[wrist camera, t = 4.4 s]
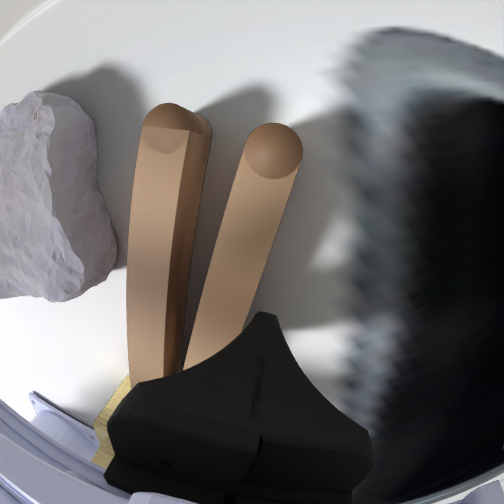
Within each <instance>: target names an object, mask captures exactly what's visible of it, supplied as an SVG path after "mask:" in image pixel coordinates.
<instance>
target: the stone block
mask: <svg viewBox="0 0 504 504" xmlns="http://www.w3.org/2000/svg"><path fill="white" fill-rule="evenodd" d="M97 156H98V150H97V141H96V129H95V125H94V121H93V120H92V119H91V118H90V117H89V116H88V115H87V113H86V112H85V111H84V109H83V108H82V107H81V106H80V105H79V104H78V103H77V102H76V101H74V100H73V99H71V98H69V97H68V96H62V95H59V94H56V93H50V92H41V91H33V92H30V93H28V94H27V95H26V97H25V98H24V99H23V100H22V101H21V102H19V103H16V104H9V105H7V106H6V107H4V108H3V109H2V110H1V113H0V299H5V298H12V297H18V296H33V297H44V298H45V299H47V300H48V301H50V302H65V301H68V300H71V299H73V298H76V297H78V296H80V295H82V294H83V293H84V292H85V291H87V290H88V289H89V288H91V287H93V286H96V285H98V284H99V283H101V282H103V281H105V280H106V279H107V277H108V275H109V273H110V272H111V270H112V268H113V267H114V266H115V264H116V257H117V253H118V250H117V243H116V239H115V235H114V230H113V228H112V226H111V218H110V216H109V214H108V212H107V209H106V205H105V202H104V199H103V196H102V194H101V192H100V191H99V187H98V182H97Z"/></svg>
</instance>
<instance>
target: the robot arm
mask: <svg viewBox="0 0 504 504" xmlns="http://www.w3.org/2000/svg"><path fill="white" fill-rule="evenodd" d="M28 397H29V399H30V401H31V403H32V405H33V408H34V410H35V412H36V414H37V415H36V416H35V417H34V418H33V420H32V421H31V422H28V421H27V420H26V419H24V418H23V417H22V416H20V415H19V414H18V413H17V412H15V411H14V410H13V409H12V408H11V407H9V406H8V405H7V404H6V403H5V402H3V401H2V400H1V399H0V504H350V503H351V502H352V490H353V489H354V488H355V487H356V486H358V485H359V484H360V483H361V482H362V481H363V480H364V479H365V478H366V477H367V476H368V475H369V474H370V473H371V472H372V470H373V469H374V466H375V458H374V452H373V447H372V443H371V440H370V437H369V434H368V431H367V430H366V429H364V428H363V427H361V426H360V425H358V424H357V423H356V422H354V421H353V420H351V419H350V418H348V417H347V416H345V415H344V414H343V413H342V412H341V411H339V410H338V409H337V408H336V407H335V406H333V405H332V404H331V403H330V402H329V401H328V400H327V399H326V398H325V397H324V396H323V395H322V394H321V393H320V392H319V391H318V390H317V389H316V388H315V387H314V385H313V384H312V383H311V382H310V381H309V379H308V378H307V377H306V375H305V374H304V373H303V371H302V370H301V368H300V367H299V365H298V363H297V362H296V360H295V358H294V357H293V355H292V353H291V351H290V349H289V347H288V345H287V343H286V340H285V338H284V336H283V333H282V331H281V328H280V325H279V322H278V318H277V316H276V315H273V314H269V313H265V312H260V311H259V312H257V313H256V314H255V316H254V318H253V319H252V321H251V322H250V323H249V325H248V326H247V327H246V328H245V329H244V330H243V331H242V332H241V333H240V334H239V335H238V336H237V337H236V338H235V339H234V340H233V341H231V342H230V343H229V344H228V345H227V346H225V347H224V348H223V349H221V350H220V351H219V352H217V353H216V354H214V355H212V356H211V357H209V358H208V359H206V360H204V361H202V362H200V363H198V364H196V365H194V366H192V367H190V368H188V369H185V370H183V371H180V372H177V373H175V374H172V375H169V376H166V377H162V378H157V379H153V380H148V381H144V382H139V383H137V384H136V385H135V386H134V387H133V388H132V389H131V390H130V391H129V392H128V394H127V395H126V396H125V397H124V398H123V399H122V400H121V402H120V403H119V404H118V406H117V407H116V409H115V410H114V412H113V414H112V415H111V417H110V418H109V420H108V422H107V432H108V435H109V439H110V442H111V445H112V448H113V451H114V454H115V455H114V457H113V459H112V460H111V462H110V464H109V466H108V467H107V469H105V468H103V467H101V466H99V465H97V464H95V463H93V462H91V460H92V458H93V456H94V455H95V453H96V452H97V450H98V448H99V447H100V444H99V441H98V438H97V436H96V433H95V431H94V430H93V429H91V428H89V427H87V426H86V425H84V424H82V423H80V422H78V421H76V420H75V419H73V418H71V417H69V416H68V415H66V414H64V413H62V412H61V411H59V410H57V409H56V408H54V407H53V406H51V405H49V404H48V403H46V402H45V401H43V400H42V399H40V398H39V397H37V396H36V395H34V394H33V393H29V394H28ZM449 504H504V493H503V490H502V487H501V485H500V482H499V480H496V481H494V482H491V483H489V484H486V485H483V486H481V487H479V488H477V489H475V490H474V491H472V492H471V493H469V494H468V495H467V496H466V497H464V499H463V500H459V501H456V502H453V503H449Z"/></svg>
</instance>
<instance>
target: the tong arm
mask: <svg viewBox="0 0 504 504" xmlns="http://www.w3.org/2000/svg"><path fill="white" fill-rule="evenodd" d="M302 153H303V150H302V144H301V141H300V139H299V137H298V135H297V134H296V133H295V132H294V131H293V130H292V129H291V128H289V127H287V126H285V125H283V124H279V123H267V124H264V125H261V126H259V127H258V128H256V129H255V130H254V131H253V132H252V133H251V134H250V135H249V137H248V139H247V141H246V144H245V147H244V150H243V153H242V156H241V160H240V163H239V166H238V169H237V172H236V176H235V179H234V182H233V186H232V189H231V192H230V196H229V199H228V202H227V206H226V209H225V212H224V216H223V219H222V223H221V226H220V230H219V233H218V237H217V240H216V244H215V247H214V251H213V255H212V258H211V262H210V265H209V269H208V273H207V277H206V280H205V284H204V288H203V292H202V295H201V299H200V303H199V307H198V311H197V315H196V319H195V323H194V327H193V331H192V335H191V339H190V343H189V347H188V351H187V355H186V360H185V364H184V368H183V370H185V369H188V368H190V367H192V366H194V365H196V364H198V363H200V362H202V361H204V360H206V359H208V358H209V357H211V356H212V355H214V354H216V353H217V352H219V351H220V350H221V349H223V348H224V347H225V346H227V345H228V344H229V343H230V342H231V341H233V340H234V339H235V338H236V337H237V336H238V335H239V334H240V333H241V331H242V329H243V326H244V323H245V320H246V318H247V315H248V312H249V309H250V307H251V304H252V301H253V298H254V295H255V293H256V290H257V287H258V284H259V281H260V278H261V276H262V273H263V270H264V267H265V264H266V261H267V259H268V256H269V253H270V250H271V247H272V244H273V241H274V239H275V236H276V233H277V230H278V227H279V224H280V221H281V218H282V215H283V212H284V209H285V207H286V204H287V201H288V198H289V195H290V192H291V189H292V186H293V183H294V180H295V177H296V174H297V171H298V168H299V165H300V162H301V159H302Z"/></svg>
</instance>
